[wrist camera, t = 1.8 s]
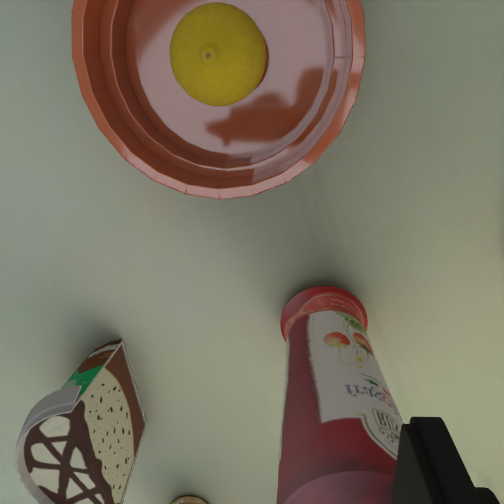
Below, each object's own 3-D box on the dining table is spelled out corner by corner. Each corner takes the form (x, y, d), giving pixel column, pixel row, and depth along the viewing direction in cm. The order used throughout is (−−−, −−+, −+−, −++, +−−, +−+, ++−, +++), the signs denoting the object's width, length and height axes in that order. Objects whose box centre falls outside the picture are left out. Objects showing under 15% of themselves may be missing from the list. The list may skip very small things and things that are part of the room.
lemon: (191, 1, 29) (161, -20, 22) (276, 21, 29) (275, 7, 22) (178, 91, 31) (147, 99, 24) (257, 109, 31) (250, 123, 24)
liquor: (259, 319, 38) (214, 855, 12) (319, 258, 36) (419, 765, 10) (324, 368, 40) (406, 939, 14) (386, 312, 37) (625, 878, 11)
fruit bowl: (300, -145, 26) (305, -194, 21) (381, 127, 32) (400, 139, 27) (60, -18, 30) (14, -35, 24) (171, 209, 35) (152, 234, 30)
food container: (50, 331, 40) (-19, 411, 31) (118, 324, 39) (68, 405, 30) (89, 439, 44) (39, 538, 35) (150, 435, 44) (115, 535, 34)
